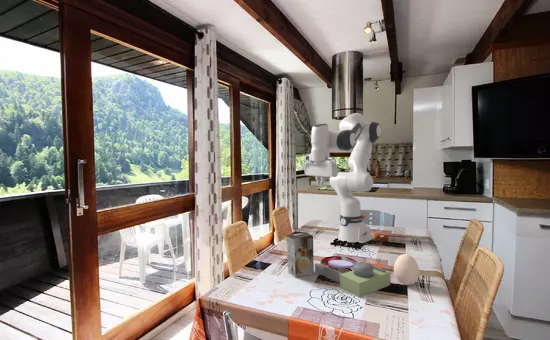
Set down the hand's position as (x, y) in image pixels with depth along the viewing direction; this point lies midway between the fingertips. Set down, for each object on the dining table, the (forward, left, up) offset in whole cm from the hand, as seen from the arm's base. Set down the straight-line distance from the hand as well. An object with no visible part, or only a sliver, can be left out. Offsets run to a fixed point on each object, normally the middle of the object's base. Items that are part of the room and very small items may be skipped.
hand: (320, 185), depth 141 cm
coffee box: (+22, +12, -34) cm, 43 cm away
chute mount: (+9, +23, -34) cm, 42 cm away
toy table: (+11, +24, -34) cm, 43 cm away
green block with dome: (+10, +35, -34) cm, 50 cm away
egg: (-4, +43, -34) cm, 55 cm away
